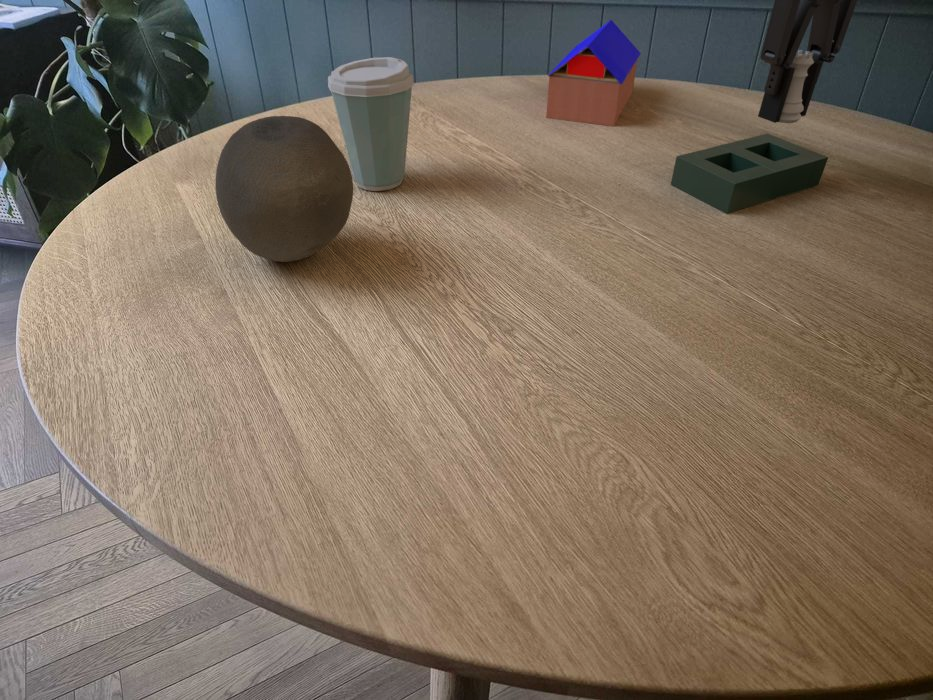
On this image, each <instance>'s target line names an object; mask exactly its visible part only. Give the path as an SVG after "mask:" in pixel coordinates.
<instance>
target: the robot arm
mask: <svg viewBox="0 0 933 700" xmlns="http://www.w3.org/2000/svg"><path fill="white" fill-rule="evenodd" d="M857 2H858V0H774V2H773V6H772V10H771V14H770V18H769V22H768V26H767V28H766V29H767V30H766V32H765V33H766V34H765V37H764V40H763V45H762V48H761V53H760V56H759V57H760V60H761V61H763V62H764V63H767V64H769V65H770V67H769V71H768V75H767V79H766V81H765V85H764V93H763V97H762V101H761V104H760V107H759V111H758V114H757V117H759V118H761V119H764V120H766V121H769V122H772V123H775V124H777V123H780V122H779V120H780V117H781V113H782V110H783V107H784V103H785V100H786V97H787V94H788V90H789V87H790V84H791V81H792V77H793V74H794V71H795V68H793V67H790V66H791V64H792V62H793V60H794V58H795V55H796V53H798V50H799V48H800V46H801V44H802V41H803V39H804V38H805V37H804V36H805V34H806V32H807V30H808V28H809V25H810V23H811V25H810V30H809V31H810V32H809V36H808V37H809V38H808V42H807V49H806V51H810V53H813V56H812V59H813V61H814V63H813V64H812V65H811V66H810V67H809V68H808V70H807V74H808V76H806V77H805V80H804V84H803V90H802V100H803V101H802V102H801V103H802V105H803V106H804V110H803V111H802V112H801V113H800V114H801V116H802V117H805V116H806V115H807V112H808V109H809V106H810V102H811V100H812V97H813V94H814V91H815V88H816V85H817V84H818V80H819V78H820V74H821V71H822V68H823V66H824V63H828V64H831V63H832V62H833V61H834V60H835V58H836V56H835V55H837V54H838V53H840V51H841V49H842V45H843V43H844V40H845V37H846V34H847V31H848V28H849V27H850V23H851V20H852V17H853V14H854V11H855V8H856V6H857Z"/></svg>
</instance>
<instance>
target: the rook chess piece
mask: <svg viewBox="0 0 933 700" xmlns="http://www.w3.org/2000/svg"><path fill="white" fill-rule="evenodd" d="M812 56H813V53H810V51H807V50H805V53H803V49H798V51H797V53H796V55H795V58H794V60H793V62H792V64H791V66H790V67H793V68H795V71H794V74H793V77H792V81H791V84H790V87H789V90H788V94H787V97H786V100H785V103H784V107H783V110H782V113H781V117H780V120H779V122H778V123H781V124H794V123H797V122H798V121H800V120H801V119H802V118H803V116H801V114H800V113H801V112H802V111H803V110H804V106H803V105H802V103H801V102H802V101H803V100H802V90H803V84H804V80H805V77H806V76H808V74H807V70H808V68H809V67H810V66H811V65H812V64H813V63H814V61H813V59H812Z"/></svg>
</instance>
